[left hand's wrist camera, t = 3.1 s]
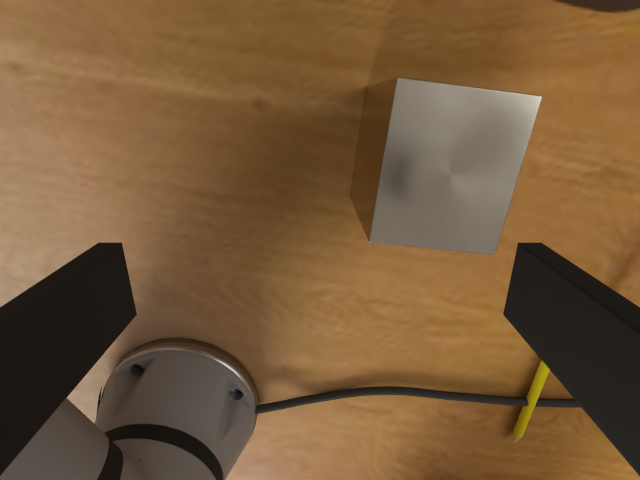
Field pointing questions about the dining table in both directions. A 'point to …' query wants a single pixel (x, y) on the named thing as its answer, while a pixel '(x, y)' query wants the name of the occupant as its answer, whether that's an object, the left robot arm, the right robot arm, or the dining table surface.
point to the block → (439, 163)
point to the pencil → (530, 401)
